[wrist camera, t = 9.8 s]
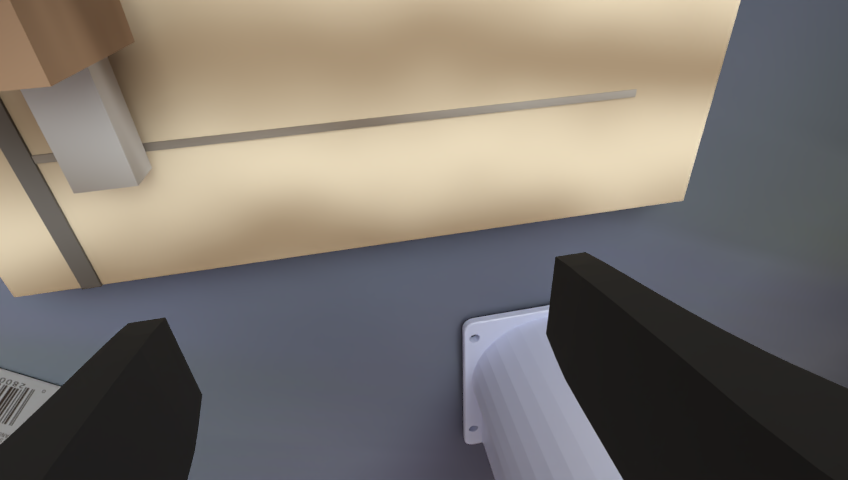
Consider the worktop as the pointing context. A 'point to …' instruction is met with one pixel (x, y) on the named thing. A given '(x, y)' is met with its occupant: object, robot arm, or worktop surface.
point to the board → (364, 129)
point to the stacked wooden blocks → (74, 86)
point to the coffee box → (20, 400)
